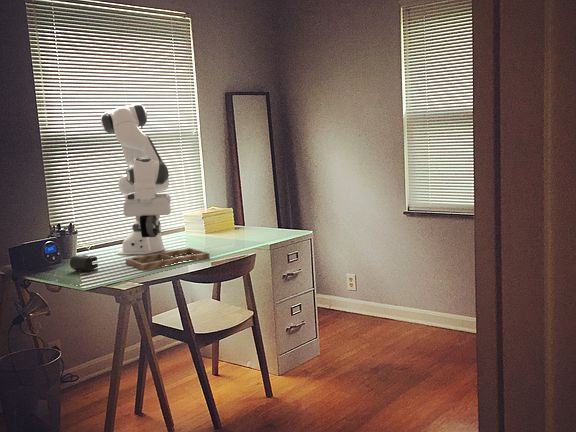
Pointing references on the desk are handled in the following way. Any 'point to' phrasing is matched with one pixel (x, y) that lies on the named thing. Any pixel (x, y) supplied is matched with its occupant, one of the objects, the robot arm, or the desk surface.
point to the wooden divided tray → (165, 258)
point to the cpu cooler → (148, 226)
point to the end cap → (83, 263)
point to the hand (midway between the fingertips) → (148, 225)
